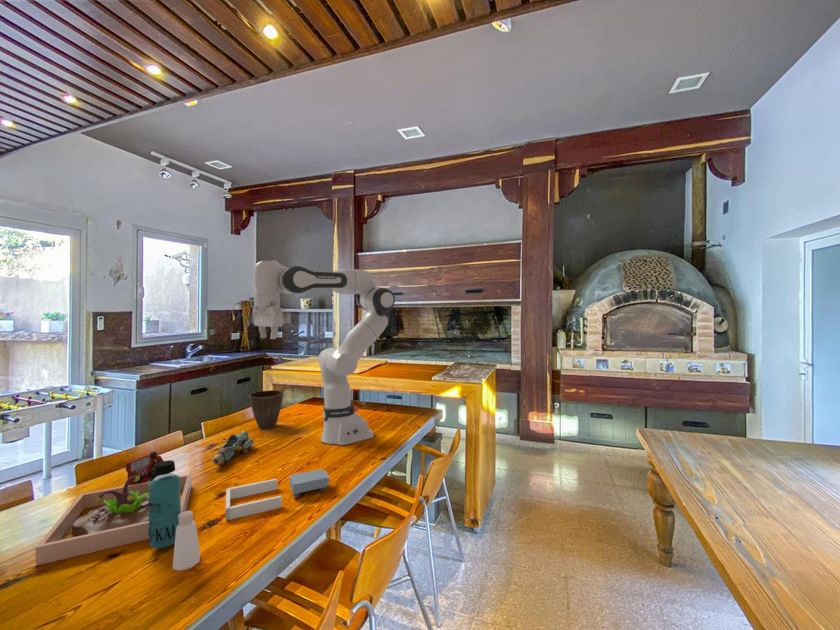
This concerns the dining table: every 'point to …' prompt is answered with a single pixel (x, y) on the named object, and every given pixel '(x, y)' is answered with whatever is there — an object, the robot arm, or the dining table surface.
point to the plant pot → (266, 407)
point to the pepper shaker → (186, 543)
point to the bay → (252, 506)
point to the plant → (115, 512)
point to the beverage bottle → (163, 505)
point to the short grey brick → (309, 481)
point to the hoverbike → (233, 447)
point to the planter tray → (71, 547)
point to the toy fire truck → (143, 468)
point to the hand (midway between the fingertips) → (268, 338)
